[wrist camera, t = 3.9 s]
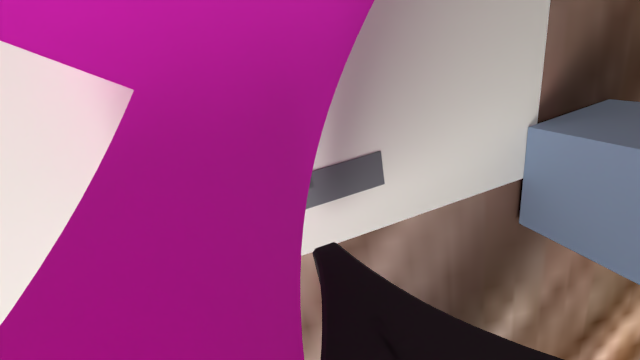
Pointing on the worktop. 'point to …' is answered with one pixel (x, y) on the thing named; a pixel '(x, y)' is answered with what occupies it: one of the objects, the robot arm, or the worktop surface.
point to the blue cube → (587, 183)
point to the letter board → (337, 135)
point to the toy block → (185, 177)
